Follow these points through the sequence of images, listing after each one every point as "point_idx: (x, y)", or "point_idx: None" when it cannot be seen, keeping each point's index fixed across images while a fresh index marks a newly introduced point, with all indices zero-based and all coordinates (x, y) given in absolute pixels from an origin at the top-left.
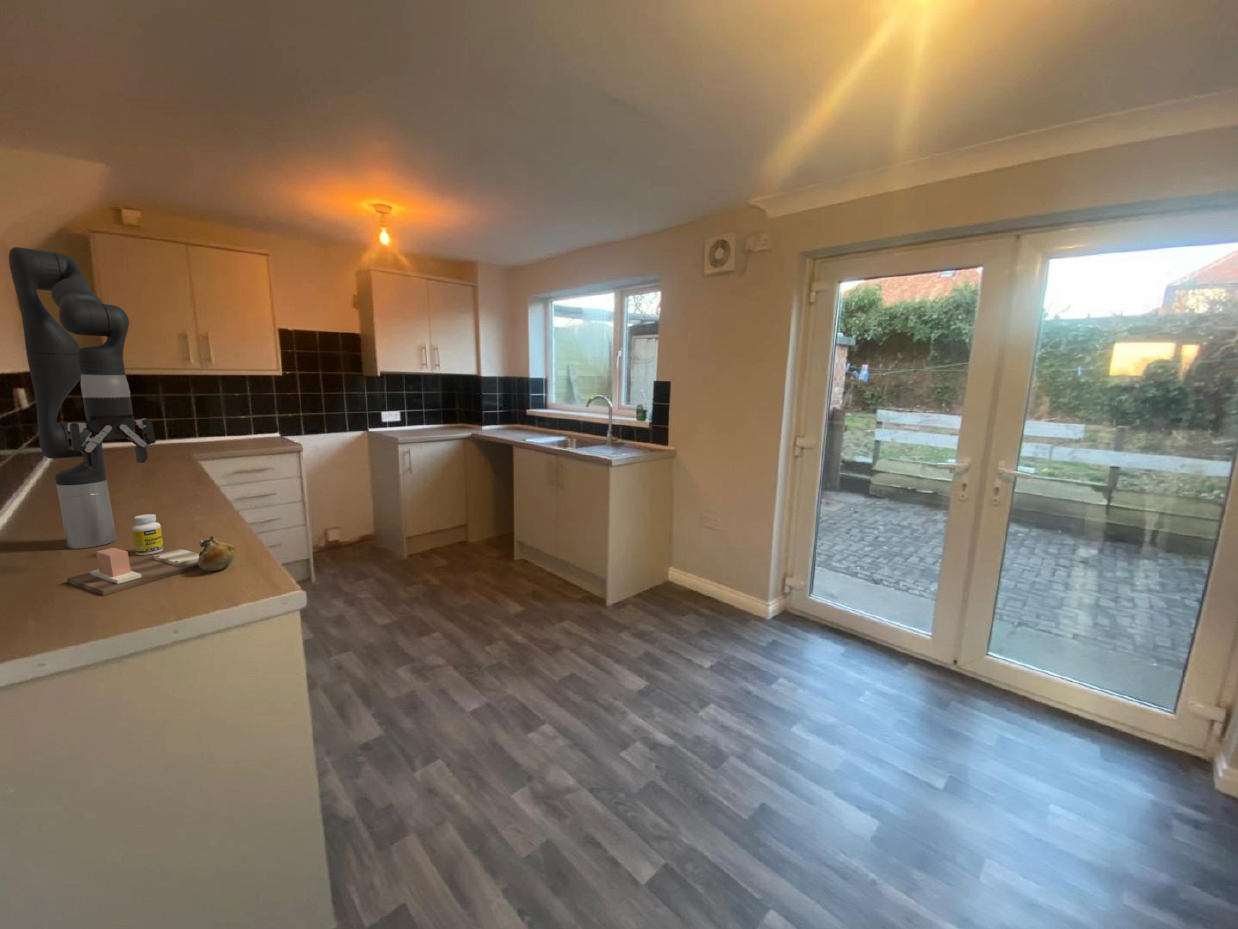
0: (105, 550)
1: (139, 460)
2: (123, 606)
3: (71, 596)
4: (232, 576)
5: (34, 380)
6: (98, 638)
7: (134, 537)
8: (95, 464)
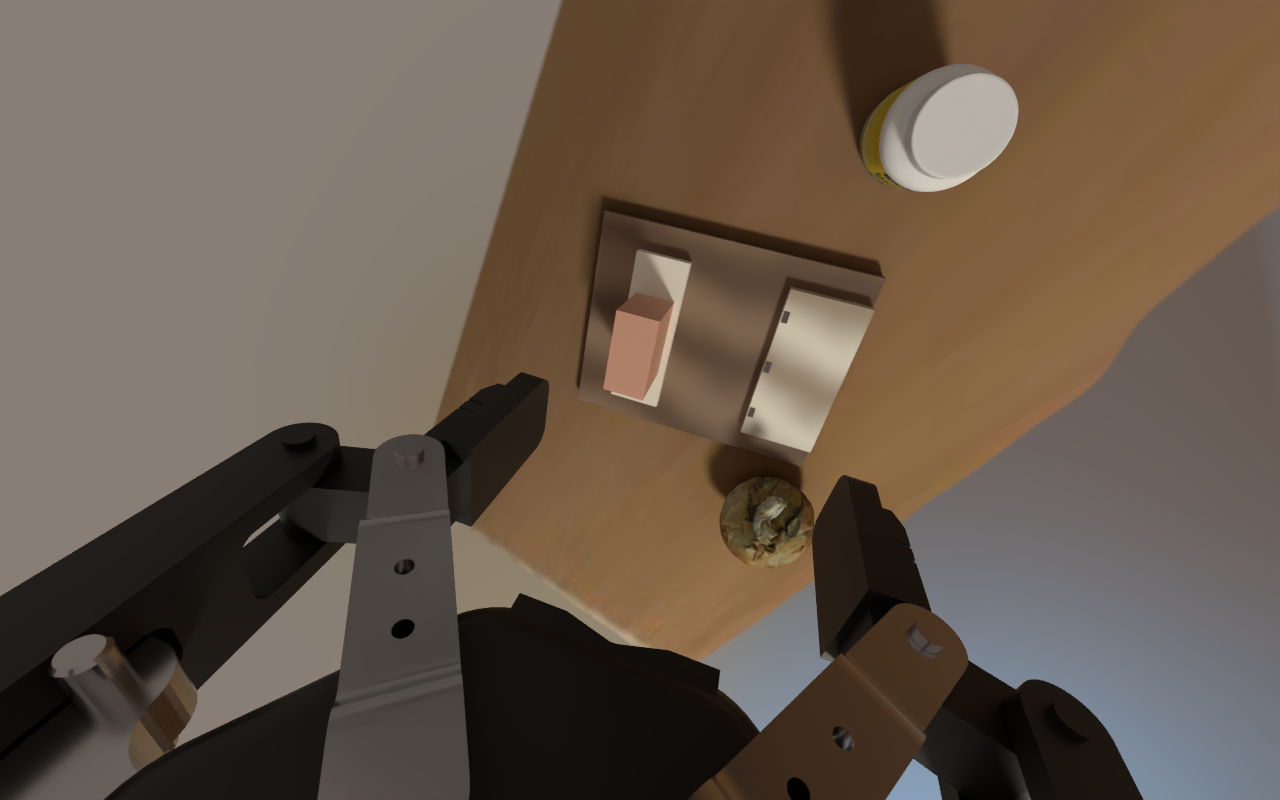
0: (631, 327)
1: (824, 522)
2: (562, 474)
3: (558, 328)
4: (730, 551)
5: None
6: (487, 533)
7: (875, 125)
8: (525, 455)
